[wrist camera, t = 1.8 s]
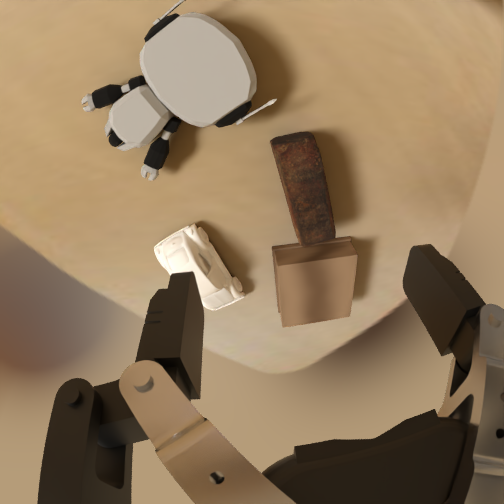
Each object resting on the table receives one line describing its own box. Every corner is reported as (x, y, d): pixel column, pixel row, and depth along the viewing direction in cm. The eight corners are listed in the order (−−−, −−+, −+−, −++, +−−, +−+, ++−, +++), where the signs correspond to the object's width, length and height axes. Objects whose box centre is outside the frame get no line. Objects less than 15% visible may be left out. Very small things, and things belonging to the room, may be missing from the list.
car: (152, 241, 33) (143, 265, 30) (195, 215, 32) (190, 237, 28) (209, 305, 40) (208, 331, 36) (250, 287, 38) (252, 313, 34)
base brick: (349, 236, 34) (359, 253, 31) (343, 299, 40) (351, 317, 37) (271, 246, 34) (275, 264, 32) (277, 309, 40) (281, 328, 37)
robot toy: (159, 177, 30) (279, 93, 25) (146, 195, 26) (283, 98, 21) (88, 96, 24) (202, -3, 19) (65, 104, 20) (192, -14, 15)
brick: (326, 217, 33) (338, 239, 29) (292, 227, 33) (301, 250, 29) (306, 127, 27) (319, 137, 23) (267, 137, 28) (273, 149, 24)
